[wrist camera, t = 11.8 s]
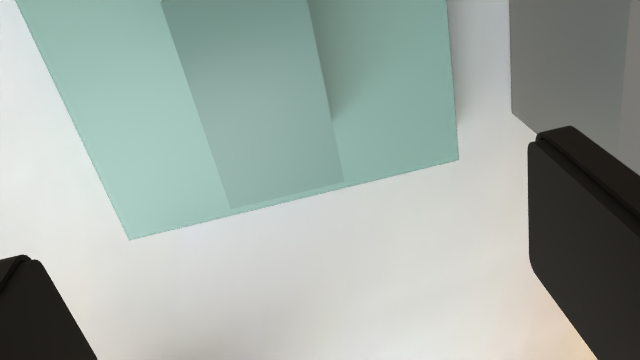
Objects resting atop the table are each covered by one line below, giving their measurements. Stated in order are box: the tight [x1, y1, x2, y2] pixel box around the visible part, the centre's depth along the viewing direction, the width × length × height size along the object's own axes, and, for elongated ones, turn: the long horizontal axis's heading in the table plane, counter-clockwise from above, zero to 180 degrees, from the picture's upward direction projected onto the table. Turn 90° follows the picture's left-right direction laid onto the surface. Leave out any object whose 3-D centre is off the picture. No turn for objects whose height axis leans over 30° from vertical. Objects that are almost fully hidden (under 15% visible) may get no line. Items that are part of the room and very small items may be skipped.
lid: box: [15, 0, 459, 240], centre depth 20 cm, size 15×13×7 cm
